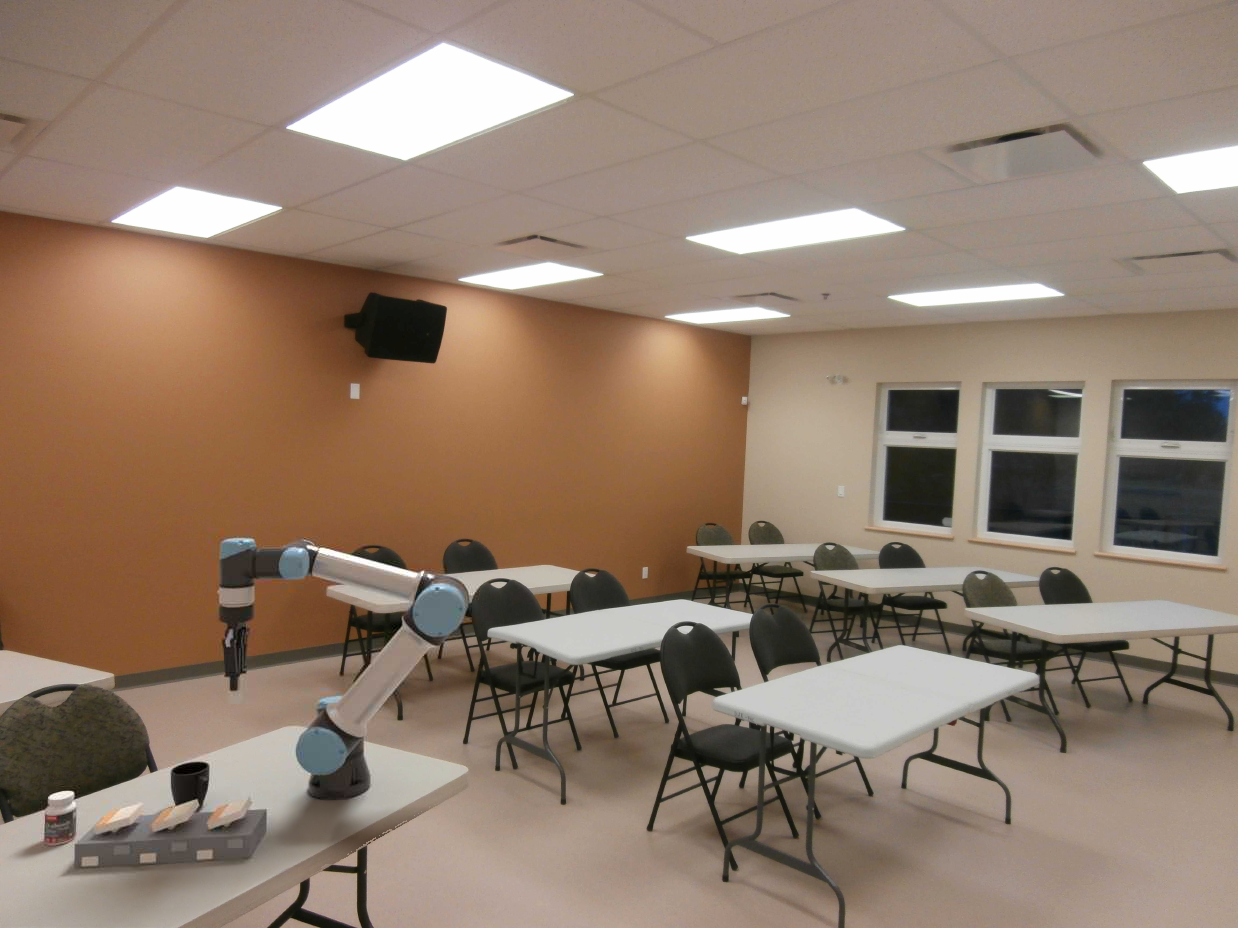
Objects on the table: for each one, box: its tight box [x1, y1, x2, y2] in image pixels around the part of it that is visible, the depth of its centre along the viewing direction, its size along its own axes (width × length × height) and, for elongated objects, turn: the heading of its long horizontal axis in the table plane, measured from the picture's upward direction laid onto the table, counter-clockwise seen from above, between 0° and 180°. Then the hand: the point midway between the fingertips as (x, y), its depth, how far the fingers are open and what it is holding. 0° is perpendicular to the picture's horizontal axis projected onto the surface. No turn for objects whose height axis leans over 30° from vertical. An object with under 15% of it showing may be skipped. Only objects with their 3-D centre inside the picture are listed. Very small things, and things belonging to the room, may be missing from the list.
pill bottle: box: [43, 790, 77, 847], centre depth 172 cm, size 6×6×10 cm
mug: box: [170, 761, 210, 811], centre depth 188 cm, size 8×12×10 cm
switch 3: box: [207, 796, 253, 829], centre depth 171 cm, size 7×7×2 cm
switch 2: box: [151, 799, 199, 832], centre depth 169 cm, size 7×7×2 cm
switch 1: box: [94, 802, 146, 835], centre depth 167 cm, size 7×7×2 cm
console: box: [73, 808, 268, 870], centre depth 169 cm, size 34×12×6 cm, turn 99°
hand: (235, 702), depth 186 cm, fingers closed
